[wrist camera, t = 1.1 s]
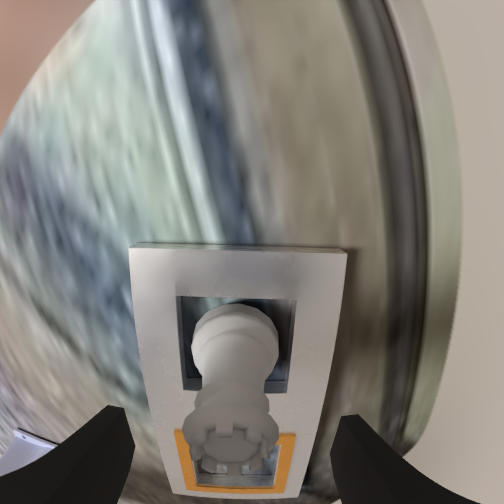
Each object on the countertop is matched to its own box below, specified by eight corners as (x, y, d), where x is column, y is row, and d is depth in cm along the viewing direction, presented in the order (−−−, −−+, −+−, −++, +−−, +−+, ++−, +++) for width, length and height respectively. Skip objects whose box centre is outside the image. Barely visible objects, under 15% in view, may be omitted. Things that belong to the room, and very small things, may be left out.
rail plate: (174, 482, 19) (172, 495, 17) (137, 242, 14) (127, 248, 13) (296, 486, 19) (298, 499, 18) (339, 248, 15) (348, 254, 13)
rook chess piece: (294, 343, 16) (327, 457, 8) (230, 384, 16) (224, 499, 8) (241, 282, 15) (238, 382, 7) (176, 331, 15) (130, 440, 8)
